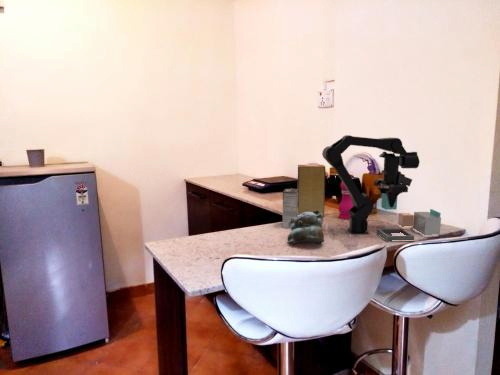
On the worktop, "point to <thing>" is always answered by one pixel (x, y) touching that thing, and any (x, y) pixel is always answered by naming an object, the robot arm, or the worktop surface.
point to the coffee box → (290, 206)
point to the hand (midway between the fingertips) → (388, 205)
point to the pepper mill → (345, 203)
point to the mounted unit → (427, 222)
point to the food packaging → (311, 188)
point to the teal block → (387, 202)
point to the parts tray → (388, 236)
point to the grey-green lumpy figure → (307, 228)
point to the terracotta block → (405, 219)
